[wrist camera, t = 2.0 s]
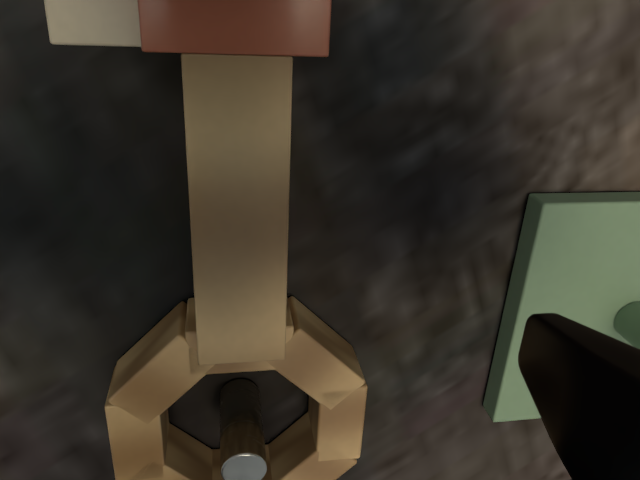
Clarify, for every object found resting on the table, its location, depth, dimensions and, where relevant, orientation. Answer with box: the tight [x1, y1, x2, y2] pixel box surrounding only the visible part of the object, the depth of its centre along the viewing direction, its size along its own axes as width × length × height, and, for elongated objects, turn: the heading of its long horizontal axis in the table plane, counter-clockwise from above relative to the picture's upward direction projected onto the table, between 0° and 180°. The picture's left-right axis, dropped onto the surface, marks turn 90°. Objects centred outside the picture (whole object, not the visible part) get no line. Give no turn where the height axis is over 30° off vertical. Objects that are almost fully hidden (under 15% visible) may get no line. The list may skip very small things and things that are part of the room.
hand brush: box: [44, 0, 368, 480], centre depth 16 cm, size 22×8×3 cm, turn 178°
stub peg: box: [220, 379, 267, 480], centre depth 19 cm, size 1×1×4 cm
